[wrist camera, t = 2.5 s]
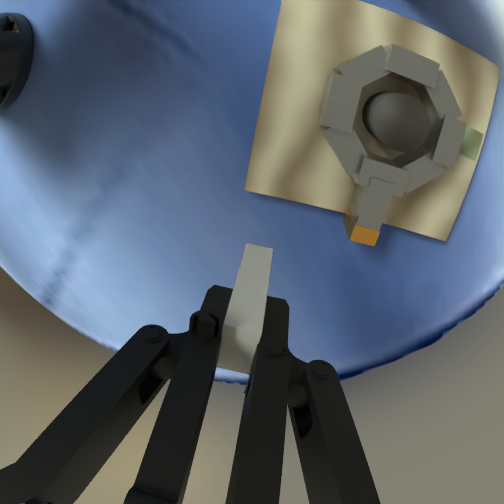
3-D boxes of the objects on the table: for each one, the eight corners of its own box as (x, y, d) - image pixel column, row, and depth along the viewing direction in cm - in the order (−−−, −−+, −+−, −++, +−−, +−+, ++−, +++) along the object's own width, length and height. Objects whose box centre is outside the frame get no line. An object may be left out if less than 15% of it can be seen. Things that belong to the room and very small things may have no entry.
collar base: (246, 185, 33) (236, 208, 28) (286, -13, 22) (284, -35, 16) (441, 235, 33) (463, 264, 27) (493, 67, 22) (527, 69, 16)
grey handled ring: (336, 34, 22) (344, 26, 19) (457, 81, 22) (478, 83, 19) (295, 210, 32) (295, 227, 28) (407, 238, 32) (419, 257, 28)
